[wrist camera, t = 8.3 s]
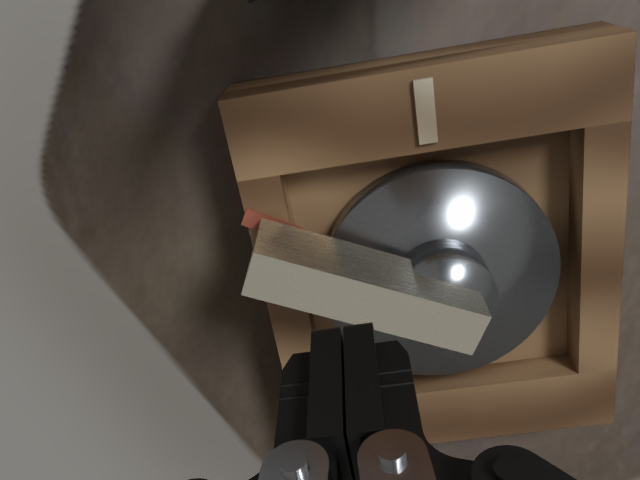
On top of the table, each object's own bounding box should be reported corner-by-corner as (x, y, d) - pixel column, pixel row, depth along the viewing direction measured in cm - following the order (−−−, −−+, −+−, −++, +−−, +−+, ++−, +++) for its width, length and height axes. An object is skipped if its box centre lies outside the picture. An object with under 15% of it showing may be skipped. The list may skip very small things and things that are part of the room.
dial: (592, 198, 25) (647, 250, 21) (493, 380, 29) (522, 455, 25) (292, 107, 24) (284, 143, 19) (233, 313, 28) (216, 381, 23)
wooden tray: (224, 85, 25) (210, 103, 22) (601, 21, 24) (639, 31, 21) (302, 416, 33) (299, 461, 30) (589, 381, 31) (615, 425, 28)
